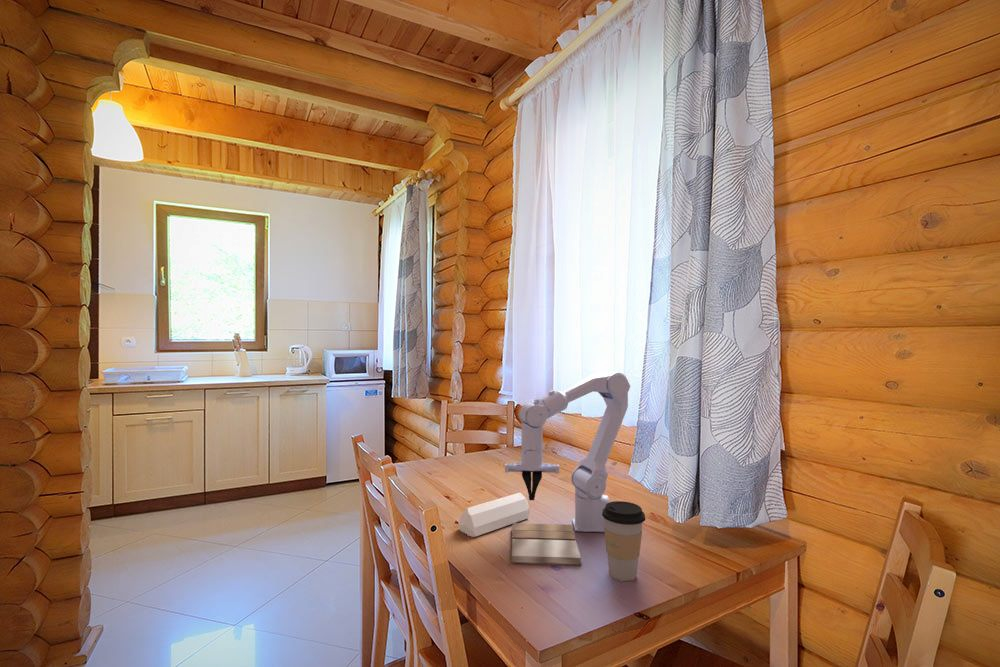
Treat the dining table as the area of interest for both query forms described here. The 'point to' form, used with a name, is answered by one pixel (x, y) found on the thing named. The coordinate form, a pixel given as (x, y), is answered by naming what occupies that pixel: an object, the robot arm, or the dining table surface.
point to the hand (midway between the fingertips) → (531, 499)
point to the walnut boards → (543, 531)
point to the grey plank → (545, 551)
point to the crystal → (493, 515)
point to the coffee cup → (623, 538)
